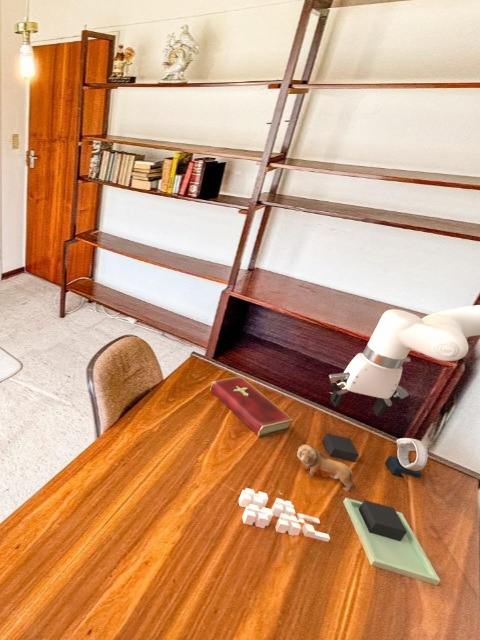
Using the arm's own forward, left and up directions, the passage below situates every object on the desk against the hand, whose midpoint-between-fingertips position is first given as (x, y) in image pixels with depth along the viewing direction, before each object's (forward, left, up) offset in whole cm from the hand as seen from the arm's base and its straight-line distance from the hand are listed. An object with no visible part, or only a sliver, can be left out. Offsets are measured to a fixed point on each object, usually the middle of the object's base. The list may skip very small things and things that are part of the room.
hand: (354, 408), depth 107 cm
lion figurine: (+7, +12, -16) cm, 21 cm away
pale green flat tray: (-2, +26, -16) cm, 31 cm away
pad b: (-1, 0, -16) cm, 16 cm away
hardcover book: (+21, -10, -16) cm, 28 cm away
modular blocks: (+20, +29, -16) cm, 39 cm away
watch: (-15, +2, -16) cm, 22 cm away
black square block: (-2, +23, -15) cm, 27 cm away
